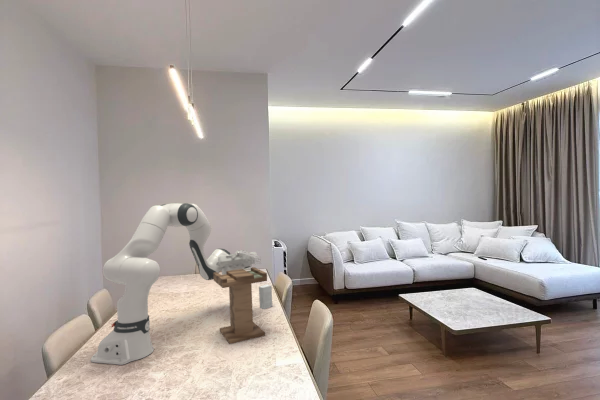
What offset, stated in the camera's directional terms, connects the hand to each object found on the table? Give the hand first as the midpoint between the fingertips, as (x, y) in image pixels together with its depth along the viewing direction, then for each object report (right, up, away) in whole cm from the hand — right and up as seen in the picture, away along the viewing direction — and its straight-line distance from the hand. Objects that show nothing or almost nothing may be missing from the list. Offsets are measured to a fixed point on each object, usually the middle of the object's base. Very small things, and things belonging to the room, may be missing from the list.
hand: (241, 253), depth 168 cm
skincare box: (+10, -34, +20) cm, 41 cm away
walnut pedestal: (+3, -34, -16) cm, 37 cm away
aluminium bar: (+5, -2, -9) cm, 10 cm away
